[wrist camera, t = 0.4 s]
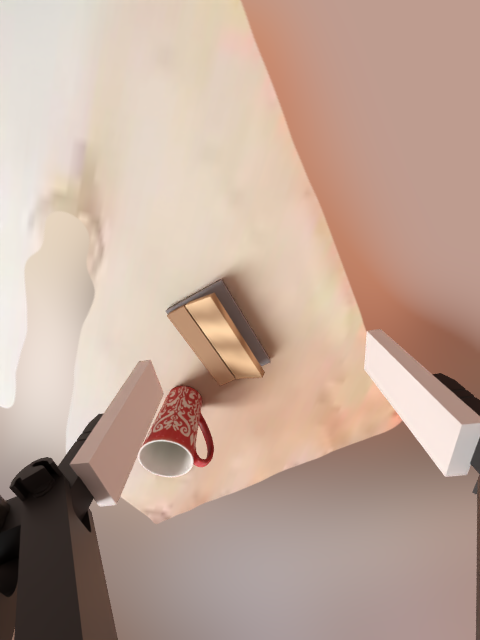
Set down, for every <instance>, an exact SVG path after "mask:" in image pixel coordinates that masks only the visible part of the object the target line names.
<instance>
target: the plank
mask: <svg viewBox="0 0 480 640" xmlns="http://www.w3.org/2000/svg"><path fill="white" fill-rule="evenodd" d="M185 307H186V308H187V309H188V311H189V312H190V314H191V315H192V317H193V318H194V319H195V321H196V322H197V324H198V325H199V326H200V328H201V329H202V331H203V332H204V334H205V335H206V336H207V338H208V339H209V341H210V342H211V343H212V345H213V346H214V348H215V349H216V351H217V352H218V353H219V355H220V356H221V358H222V359H223V360H224V362H225V363H226V365H227V366H228V368H229V369H230V370H231V372H232V373H233V375H234V376H235V378H236V379H240V378H261V377H263V375H264V373H265V372H264V370H263V369H262V367H261V366H260V364H259V362H258V361H257V359H256V358H255V356H254V355H253V353H252V351H251V350H250V348H249V347H248V345H247V343H246V342H245V340H244V339H243V337H242V336H241V334H240V332H239V331H238V329H237V328H236V326H235V325H234V323H233V321H232V320H231V318H230V317H229V315H228V313H227V312H226V310H225V309H224V307H223V306H222V304H221V302H220V301H219V299H218V298H217V296H216V295H215V293H212V294H209V295H206V296H204V297H201V298H198V299H195V300H193V301H190V302H188V303H187V304H186V305H185Z"/></svg>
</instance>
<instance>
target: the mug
mask: <svg viewBox="0 0 480 640" xmlns="http://www.w3.org/2000/svg"><path fill="white" fill-rule="evenodd" d="M201 406H202V397H201V395H200V394H199V393H198V391H196V390H195V389H193V388H191V387H187V386H179V387H175V388H173V389H172V390H171V391H170V392H169V394H168V395H167V397H166V400H165V402H164V404H163V406H162V408H161V409H160V412H159V414H158V416H157V418H156V420H155V422H154V424H153V426H152V428H151V430H150V432H149V434H148V436H147V438H146V440H145V442H144V444H143V445H142V446H141V448H140V451H139V453H138V460H139V462H140V464H141V465H142V466H143V467H144V468H145V469H146V470H147V471H149V472H151V473H153V474H156V475H159V476H163V477H178V476H181V475H184V474H186V473H187V472H189V471H190V470H191V468H192V466H193V464H194V465H196V466H198V467H204V466H206V465H207V464H208V463H209V462H210V461H211V459H212V457H213V452H214V445H213V440H212V436H211V434H210V431H209V428H208V426H207V424H206V422H205V420H204V418H203V416H202V414H201ZM198 425H199V426H200V428H201V431H202V433H203V435H204V438H205V441H206V444H207V450H208V453H207V458H206V459H201V458H200V457H199V456H198V455H197V453H196V447H195V444H196V437H197V430H198Z"/></svg>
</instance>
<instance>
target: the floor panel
mask: <svg viewBox="0 0 480 640" xmlns="http://www.w3.org/2000/svg"><path fill="white" fill-rule="evenodd" d="M212 293H215V295H216V296H217V298H218V299H219V301H220V302H221V304H222V306H223V307H224V309H225V310H226V312H227V313H228V315H229V317H230V318H231V320H232V321H233V323H234V325H235V326H236V328H237V329H238V331H239V332H240V334H241V336H242V337H243V339H244V340H245V342H246V343H247V345H248V347H249V348H250V350H251V351H252V353H253V355H254V356H255V358H256V359H257V361H258V362H259V364H260V366H263V365H265V364H268V363H270V358H269V357H268V355H267V353H266V352H265V350H264V348H263V347H262V345H261V343H260V342H259V340H258V339H257V337H256V335H255V334H254V332H253V330H252V329H251V327H250V325H249V324H248V322H247V320H246V319H245V317H244V315H243V314H242V312H241V310H240V309H239V307H238V305H237V304H236V302H235V300H234V299H233V297H232V296H231V294H230V292H229V291H228V289H227V287H226V286H225V284H224V282H223V281H222V279H220V280H219V281H217V282H215V283H213V284H211V285H210V286H208V287H206V288H204V289H202V290H201V291H199V292H197V293H195V294H193V295H192V296H190V297H188V298H186V299H184V300H183V301H181V302H179V303H177V304H175V305H174V306H172V307H170V308H168V309H167V310H166V312H167V314H168V315H167V317H168V318H169V319H170V321H171V322H172V323H173V325H174V326H175V327H176V329H177V330H178V331H179V333H180V334H181V335H182V337H183V338H184V339H185V341H186V342H187V343H188V344H189V346H190V347H191V348H192V350H193V351H194V352H195V354H196V355H197V356H198V358H199V359H200V360H201V362H202V363H203V364H204V366H205V367H206V368H207V370H208V371H209V372H210V374H211V375H212V376H213V378H214V379H215V380H216V382H217V383H218V384H219V386H222V385H224V384H226V383H228V382H231V381H233V380H235V376H234V375H233V373H232V372H231V370H230V369H229V368H228V366H227V365H226V363H225V362H224V360H223V359H222V358H221V356H220V355H219V353H218V352H217V351H216V349H215V348H214V346H213V345H212V343H211V342H210V341H209V339H208V338H207V336H206V335H205V334H204V332H203V331H202V329H201V328H200V326H199V325H198V324H197V322H196V321H195V319H194V318H193V317H192V315H191V314H190V312H189V311H188V309H187V308H186V307H185V305H186V304H187V303H188V302H190V301H193V300H195V299H198V298H201V297H204V296H206V295H209V294H212Z"/></svg>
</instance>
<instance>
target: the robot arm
mask: <svg viewBox="0 0 480 640" xmlns="http://www.w3.org/2000/svg"><path fill="white" fill-rule="evenodd" d="M364 370H365V371H366V372H367V374H368V375H369V376H370V378H371V379H372V380H373V382H374V383H375V384H376V385H377V387H378V388H379V389H380V391H381V392H382V393H383V395H384V396H385V397H386V399H387V400H388V401H389V403H390V404H391V405H392V407H393V408H394V409H395V411H396V412H397V413H398V415H399V416H400V417H401V419H402V420H403V421H404V423H405V424H406V425H407V426H408V428H409V429H410V431H411V432H412V433H413V434H414V436H415V437H416V438H417V440H418V441H419V442H420V444H421V445H422V446H423V448H424V449H425V450H426V452H427V453H428V454H429V456H430V457H431V458H432V460H433V461H434V462H435V463H436V465H437V466H438V468H439V469H440V470H441V471H442V473H443V474H444V476H445V477H447V476H459V475H467V473H468V470H469V467H470V465H472V466H473V467H474V468H475V469H476V471H477V472H478V473H479V474H480V400H479V399H477V398H475V397H474V395H473V394H471V393H470V392H469V391H467V390H465V388H464V387H463V386H461V385H460V384H459V383H458V382H457V381H455V380H454V379H451V378H450V377H448V376H445V375H443V374H441V373H439V374H431V373H430V372H429V371H428V370H426V369H425V368H424V367H423V366H422V365H421V364H420V363H419V362H417V361H416V360H415V359H414V358H413V357H412V356H411V355H409V354H408V353H407V352H406V351H405V350H404V349H403V348H401V347H400V346H399V345H398V344H397V343H396V342H395V341H393V340H392V339H391V338H390V337H389V336H388V335H387V334H385V333H384V332H383V331H382V330H381V329H378V330H371V331H367V339H366V353H365V367H364ZM163 394H164V393H163V391H162V388H161V385H160V383H159V380H158V378H157V375H156V372H155V370H154V367H153V365H152V362H151V360H146V361H139V362H138V364H137V365H136V367H135V368H134V370H133V371H132V373H131V374H130V376H129V377H128V379H127V380H126V381H125V383H124V384H123V386H122V387H121V389H120V390H119V392H118V393H117V395H116V396H115V398H114V399H113V401H112V402H111V404H110V405H109V407H108V408H107V410H106V411H105V413H104V414H98V415H97V416H96V417H95V418H94V419H93V420H92V421H91V422H89V424H88V425H87V426H86V428H85V429H84V431H83V433H82V434H81V435H80V436H79V438H78V439H77V442H75V443H74V445H73V446H72V447H71V449H70V450H69V452H68V453H67V454H66V456H65V457H64V459H63V460H62V462H61V463H60V464H59V466H57V465H56V464H55V462H54V461H53V460H52V458H48V457H46V458H41V459H39V460H36V461H34V462H32V463H31V464H29V465H28V466H26V467H25V468H24V469H22V470H21V471H20V472H19V473H18V474H17V475H16V477H15V478H14V479H13V481H12V482H11V486H10V489H11V490H12V491H13V492H14V493H15V494H16V495H17V497H14V498H12V499H9V500H6V501H5V500H4V499H3V498H2V497H1V495H0V640H12V637H13V632H14V629H15V638H14V640H118V638H117V633H116V629H115V624H114V619H113V614H112V609H111V604H110V600H109V595H108V590H107V585H106V580H105V575H104V570H103V565H102V561H101V556H100V551H99V546H98V541H97V537H96V531H95V527H94V522H93V517H92V513H91V511H90V509H89V506H90V504H91V502H92V500H93V498H94V500H95V501H96V502H97V504H98V505H99V506H110V505H116V504H117V502H118V500H119V498H120V495H121V493H122V491H123V488H124V486H125V484H126V481H127V479H128V477H129V474H130V472H131V470H132V467H133V465H134V462H135V460H136V458H137V455H138V453H139V451H140V448H141V446H142V444H143V441H144V439H145V437H146V434H147V432H148V430H149V427H150V425H151V422H152V420H153V418H154V415H155V413H156V411H157V408H158V406H159V404H160V401H161V399H162V397H163ZM477 492H478V493H477ZM473 493H475V494H477V501H478V502H477V600H476V601H477V603H476V605H477V606H476V640H480V475H479V478H478V480H477V483H476V485H475V487H474V490H473Z"/></svg>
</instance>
